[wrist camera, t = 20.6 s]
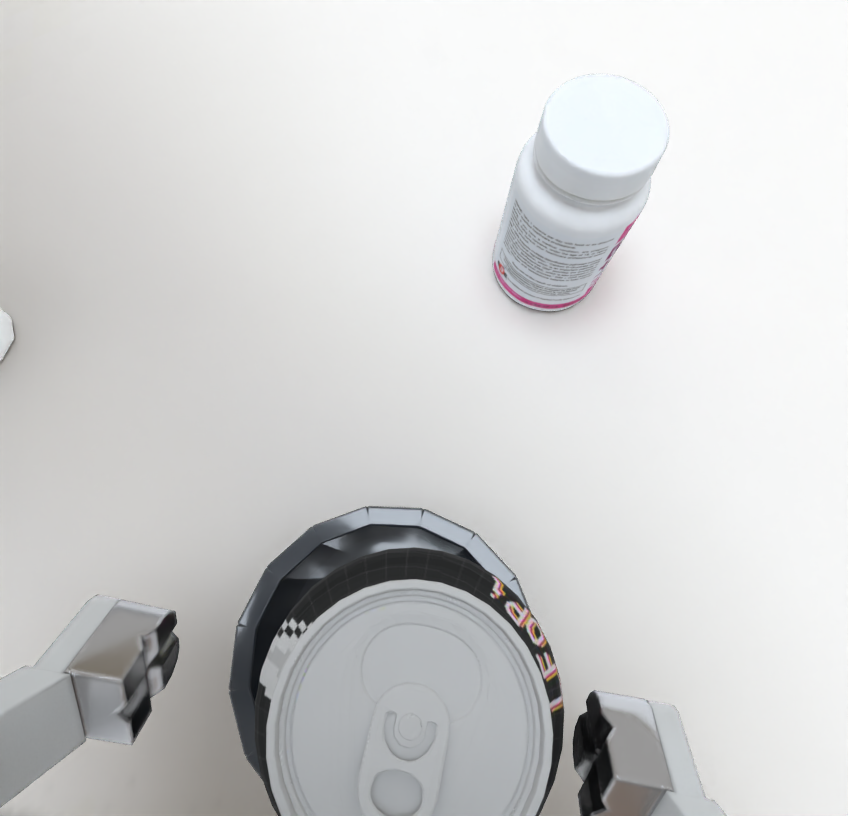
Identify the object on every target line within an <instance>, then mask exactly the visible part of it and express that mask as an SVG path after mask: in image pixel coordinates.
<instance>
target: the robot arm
mask: <svg viewBox="0 0 848 816" xmlns="http://www.w3.org/2000/svg"><path fill="white" fill-rule="evenodd" d="M176 624H177V619H176V612H175V611H172V610H168V609H163V608H159V607H154V606H149V605H145V604H140V603H135V602H131V601H126V600H122V599H117V598H112V597H107V596H102V595H96V596H94V597H93V598H91V599H90V600H88V601H87V602H86V604H85V605H84V606H83V607H82V608H81V610H80V611H79V612H78V613H77V614H76V616H75V617H74V618H73V619H72V620H71V622H70V623H69V624H68V625H67V627H66V628H65V629H64V630H63V631H62V633H61V634H60V635H59V636H58V637H57V639H56V640H55V641H54V642H53V643H52V645H51V646H50V647H49V648H48V649H47V651H46V652H45V653H44V654H43V656H42V657H41V658H40V659H39V660H38V662H37V663H36V664H35V665H34V666H33V667H31V666H24V667H22V668H20V669H18V670H16V671H14V672H12V673H11V674H9V675H7V676H5V677H3V678H1V679H0V808H1V807H2V806H3V805H4V804H6V803H7V802H8V801H10V800H11V799H12V798H13V797H15V796H16V795H17V794H19V793H20V792H21V791H22V790H24V789H25V788H26V787H28V786H29V785H30V784H31V783H33V782H34V781H35V780H37V779H38V778H39V777H40V776H42V775H43V774H44V773H46V772H47V771H48V770H49V769H51V768H52V767H53V766H54V765H56V764H57V763H58V762H60V761H61V760H62V759H63V758H65V757H66V756H67V755H69V754H70V753H71V752H72V751H74V750H75V749H76V748H78V747H79V746H80V745H81V744H83V743H84V742H85V741H86V738H90V739H96V740H102V741H108V742H114V743H120V744H126V745H133V743H134V741H135V739H136V738H137V736H138V734H139V732H140V731H141V729H142V727H143V725H144V724H145V722H146V720H147V718H148V717H149V715H150V713H151V711H152V709H151V701H150V698H151V697H153V696H154V695H156V694H157V693H159V692H160V691H162V690H163V689H164V688H165V687H166V685H167V683H168V681H169V679H170V677H171V676H172V673H173V670H174V668H175V665H176V662H177V659H178V653H179V638H178V637H177V636H176V635H175V634H174V633H173V632H172V630H173V629H174V627H175V626H176ZM586 705H587V711H588V712H586V713H584V714H582V715H580V716H579V718H578V721H577V723H576V726H575V730H574V737H573V759H574V768H575V770H576V772H577V773H578V774H579V776H580V777H581V779H582V780H583V782H584V783H583V785H582V787H581V789H580V791H579V793H578V799H579V807H580V814H581V816H727V815H726V814H725V813H724V811H723V810H722V809H721V808H720V807H719V805H718V804H717V803H716V802H715V801H714V800H711V799H707V798H706V797H705V794H704V791H703V788H702V784H701V781H700V778H699V775H698V772H697V769H696V766H695V762H694V759H693V756H692V753H691V750H690V747H689V744H688V740H687V737H686V734H685V731H684V728H683V725H682V721H681V718H680V715H679V712H678V710H677V709H676V708H675V706H673V705H670V704H665V703H659V702H653V701H648V700H645V699H642V698H636V697H630V696H624V695H619V694H613V693H607V692H602V691H596V690H594V691H592V692H591V693H590V694H589V696H588V698H587V700H586Z"/></svg>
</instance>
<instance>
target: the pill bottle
mask: <svg viewBox="0 0 848 816" xmlns="http://www.w3.org/2000/svg"><path fill="white" fill-rule="evenodd" d="M668 140H669V123H668V119H667V116H666V113H665V111H664V109H663V107H662V105H661V104H660V103H659V101H658V100H657V99H656V98H655V97H654V96H653V95H652V94H651V93H650V92H649V91H647V90H646V89H645V88H644V87H642V86H641V85H639V84H637V83H635V82H633V81H631V80H629V79H626V78H624V77H620V76H615V75H609V74H588V75H583V76H579V77H576V78H574V79H571V80H569V81H567V82H566V83H564V84H563V85H561V86H560V87H559V88H557V89H556V90H555V91H554V92H553V94H552V95H551V96H550V97H549V99H548V101H547V103H546V105H545V107H544V110H543V114H542V117H541V120H540V123H539V127H538V131H537V132H536V133H535V134H534V135H533V136H532V137H531V138H530V139H529V140H528V141H527V143H526V144H525V146H524V147H523V149H522V151H521V153H520V156H519V158H518V160H517V164H516V167H515V171H514V175H513V179H512V182H511V186H510V190H509V194H508V198H507V202H506V206H505V209H504V213H503V217H502V221H501V225H500V229H499V232H498V236H497V239H496V242H495V246H494V252H493V269H494V273H495V276H496V279H497V281H498V283H499V284H500V286H501V288H502V289H503V290H504V291H505V293H506V294H507V295H508V296H509V297H511V298H512V299H513V300H515V301H516V302H518V303H520V304H521V305H524V306H526V307H528V308H532V309H536V310H541V311H558V310H563V309H566V308H569V307H571V306H573V305H575V304H577V303H578V302H580V301H581V300H582V299H584V298H585V297H586V296H587V295H588V293H589V292H590V291H591V290H592V288H593V287H594V285H595V284H596V282H597V280H598V279H599V277H600V275H601V274H602V272H603V271H604V269H605V267H606V266H607V264H608V263H609V261H610V260H611V258H612V256H613V255H614V253H615V252H616V250H617V249H618V248H619V246H620V244H621V243H622V241H623V240H624V238H625V236H626V235H627V233H628V232H629V230H630V229H631V227H632V225H633V224H634V222H635V221H636V219H637V218H638V216H639V215H640V213H641V211H642V210H643V208H644V206H645V204H646V202H647V199H648V196H649V193H650V187H651V176H652V174H653V172H654V170H655V168H656V166H657V165H658V163H659V161H660V159H661V157H662V155H663V153H664V152H665V150H666V147H667V144H668Z"/></svg>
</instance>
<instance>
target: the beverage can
mask: <svg viewBox="0 0 848 816" xmlns="http://www.w3.org/2000/svg"><path fill="white" fill-rule="evenodd" d="M563 722H564V707H563V699H562V691H561V683H560V677H559V674H558V671H557V667H556V664H555V661H554V657H553V654H552V651H551V648H550V646H549V644H548V642H547V640H546V638H545V636H544V634H543V632H542V630H541V628H540V626H539V624H538V622H537V620H536V619H535V617H534V616H533V615H532V614H531V612H530V611H529V610H528V608H527V607H526V606H525V605H524V603H523V602H522V601H521V599H520V598H519V597H518V595H517V594H515V593H514V592H513V591H512V590H511V589H510V588H509V587H508V586H506V585H505V584H504V583H503V582H502V581H501V580H500V579H499V578H497V577H496V576H495V575H494V574H492V573H490V572H489V571H487V570H485V569H484V568H482V567H480V566H478V565H477V564H475V563H473V562H472V561H470V560H467V559H465V558H462V557H459V556H456V555H453V554H450V553H448V552H445V551H440V550H432V549H425V548H418V547H412V548H398V549H387V550H383V551H379V552H376V553H372V554H369V555H365V556H361V557H359V558H357V559H355V560H353V561H351V562H349V563H347V564H345V565H343V566H341V567H339V568H337V569H335V570H334V571H332V572H331V573H330V574H328V575H327V576H326V577H325V578H323V579H322V580H321V581H319V582H318V583H317V584H315V585H314V586H313V587H311V588H310V590H309V591H308V592H307V593H306V594H305V595H304V596H303V597H302V598H301V600H300V601H299V602H298V603H297V604H296V605H295V606H294V607H293V609H292V610H291V611H290V613H289V614H288V616H287V618H286V619H285V621H284V622H283V624H282V626H281V627H280V629H279V631H278V632H277V634H276V636H275V637H274V639H273V641H272V644H271V646H270V649H269V652H268V654H267V657H266V659H265V662H264V664H263V667H262V670H261V675H260V680H259V685H258V690H257V695H256V701H255V743H256V750H257V756H258V762H259V768H260V773H261V776H262V779H263V782H264V784H265V787H266V790H267V793H268V795H269V798H270V801H271V804H272V806H273V808H274V809H275V811H276V813H277V814H278V816H539V814H540V813H541V810H542V808H543V806H544V803H545V801H546V799H547V797H548V794H549V792H550V790H551V788H552V785H553V783H554V780H555V776H556V772H557V768H558V763H559V759H560V755H561V751H562V743H563Z"/></svg>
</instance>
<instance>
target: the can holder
mask: <svg viewBox="0 0 848 816" xmlns="http://www.w3.org/2000/svg"><path fill="white" fill-rule="evenodd" d="M412 547H418V548H425V549H432V550H440V551H445V552H448V553H450V554H453V555H456V556H459V557H462V558H465V559H467V560H470V561H472V562H473V563H475V564H477V565H478V566H480V567H482V568H484V569H485V570H487V571H489V572H490V573H492V574H494V575H495V576H496V577H497V578H499V579H500V580H501V581H502V582H503V583H504V584H505V585H506V586H508V587H509V588H510V589H511V590H512V591H513V592H514V593H515V594H517V595H518V597H519V598H520V599H521V601H522V602H523V603H524V605H525V606H526V607H527V608H528V610H529V611H530V609H529V606H528V604H527V601H526V599H525V596H524V594H523V591H522V589H521V586H520V584H519V581H518V579H517V578H516V575H515V574H514V573H513V572H512V571H511V570H510V569H509V568H508V567H507V565H506V564H505V563H504V562H503V561H502V560H501V559H500V558H499V557H498V556H497V555H496V554H495V553H494V551H493V550H492V549H491V548H490V547H489V546H488V545H487V544H486V543H485V542H484V541H483V540H482V539H481V538H480V536H479V535H478V534H475V532H473V531H471V530H469V529H467V528H465V527H463V526H461V525H458V524H456V523H454V522H452V521H450V520H448V519H446V518H443V517H441V516H439V515H437V514H435V513H433V512H431V511H428V510H426V509H424V510H423V509H422V508H403V507H378V506H368V507H363V508H360V509H357V510H354V511H352V512H349V513H346V514H344V515H341V516H338V517H335V518H333V519H330V520H327V521H324V522H322V523H319V524H316V525H314V526H313V527H310V528H309V529H308V530H307V531H306V532H305V533H304V534H303V535H301V536H300V537H299V538H298V539H297V540H296V541H295V542H294V543H293V544H291V545H290V546H289V547H288V548H287V549H286V550H285V551H284V552H282V553H281V554H280V555H279V556H278V557H277V558H276V559H275V560H273V561H272V562H271V563H270V564H269V565H268V566H267V568H266V569H265V571H264V573H263V575H262V577H261V578H260V580H259V582H258V584H257V586H256V588H255V590H254V592H253V594H252V596H251V598H250V600H249V602H248V603H247V605H246V607H245V609H244V611H243V613H242V615H241V617H240V619H239V621H238V625H237V627H236V634H235V642H234V651H233V659H232V667H231V675H230V683H229V690H230V691H229V695H230V699H231V703H232V707H233V711H234V715H235V719H236V723H237V727H238V731H239V735H240V739H241V743H242V747H243V751H244V754H245V756H247V757H246V758H247V760H248V762H249V763H250V764H251V766H252V767H253V768H254V770H255V771H256V772H257V774H258V775H259V776H260V778H261V779H262V776H261V773H260V768H259V762H258V756H257V750H256V743H255V701H256V695H257V690H258V685H259V680H260V675H261V670H262V667H263V664H264V662H265V659H266V657H267V654H268V652H269V649H270V646H271V644H272V641H273V639H274V637H275V636H276V634H277V632H278V631H279V629H280V627H281V626H282V624H283V622H284V621H285V619H286V618H287V616H288V614H289V613H290V611H291V610H292V609H293V607H294V606H295V605H296V604H297V603H298V602H299V601H300V600H301V598H302V597H303V596H304V595H305V594H306V593H307V592H308V591H309V590H310V588H311V587H313V586H314V585H315V584H317V583H318V582H319V581H321V580H322V579H323V578H325V577H326V576H327V575H328V574H330V573H331V572H332V571H334V570H335V569H337V568H339V567H341V566H343V565H345V564H347V563H349V562H351V561H353V560H355V559H357V558H359V557H361V556H365V555H369V554H372V553H376V552H379V551H383V550H387V549H398V548H412ZM530 612H531V611H530ZM262 780H263V779H262Z"/></svg>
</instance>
